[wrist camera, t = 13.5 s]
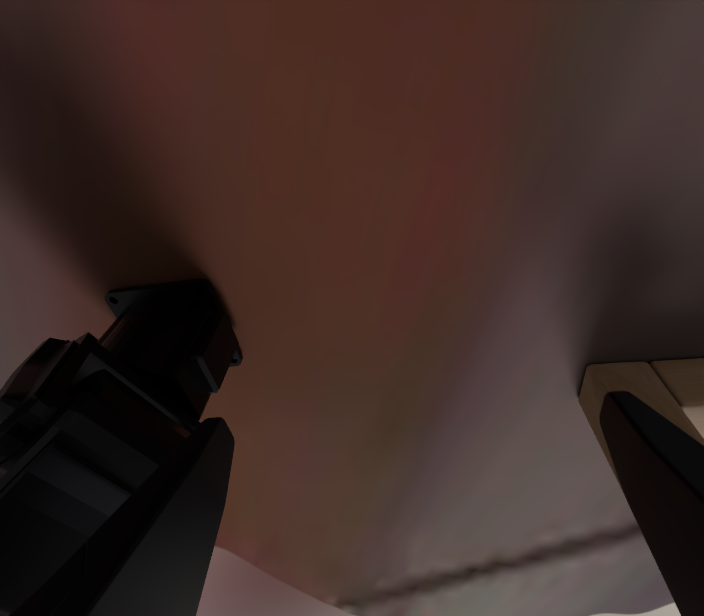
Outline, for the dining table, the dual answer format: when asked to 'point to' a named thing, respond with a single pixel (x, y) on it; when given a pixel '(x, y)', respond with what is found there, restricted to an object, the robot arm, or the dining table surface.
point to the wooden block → (648, 393)
